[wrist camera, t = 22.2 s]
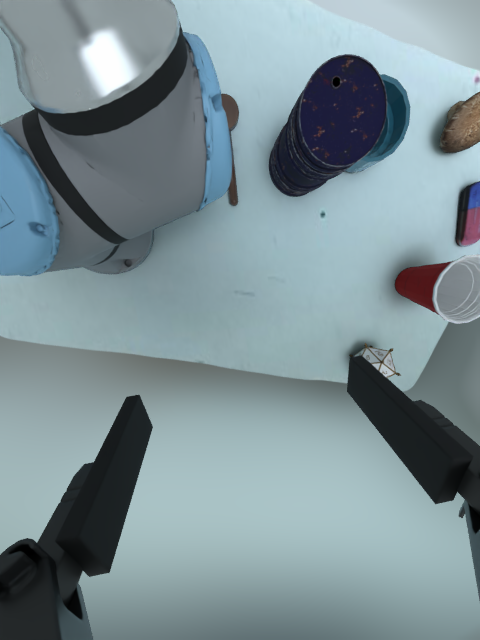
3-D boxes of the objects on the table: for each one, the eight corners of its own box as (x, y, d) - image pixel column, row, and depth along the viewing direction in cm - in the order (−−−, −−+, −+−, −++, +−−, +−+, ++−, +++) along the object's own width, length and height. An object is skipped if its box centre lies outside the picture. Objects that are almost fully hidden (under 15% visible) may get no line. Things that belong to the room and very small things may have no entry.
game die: (349, 356, 54) (350, 394, 48) (348, 333, 49) (349, 372, 43) (393, 357, 51) (401, 399, 44) (397, 332, 45) (406, 375, 39)
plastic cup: (432, 246, 44) (506, 244, 33) (433, 297, 48) (500, 312, 36) (380, 262, 44) (436, 266, 33) (384, 312, 48) (436, 332, 36)
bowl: (316, 163, 38) (331, 149, 33) (337, 90, 35) (358, 62, 30) (369, 180, 40) (391, 170, 34) (393, 112, 37) (422, 89, 32)
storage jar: (331, 183, 39) (396, 145, 25) (280, 207, 40) (314, 183, 25) (315, 118, 36) (377, 33, 22) (259, 145, 36) (285, 79, 22)
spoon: (246, 205, 39) (247, 203, 38) (221, 207, 39) (221, 206, 37) (236, 96, 34) (237, 90, 33) (207, 99, 34) (207, 93, 33)
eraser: (473, 243, 45) (483, 244, 43) (453, 248, 45) (463, 248, 43) (482, 180, 41) (493, 178, 39) (461, 185, 41) (471, 183, 39)
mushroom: (465, 73, 33) (506, 79, 30) (483, 98, 37) (522, 106, 34) (417, 137, 39) (447, 149, 35) (437, 153, 42) (467, 165, 39)
